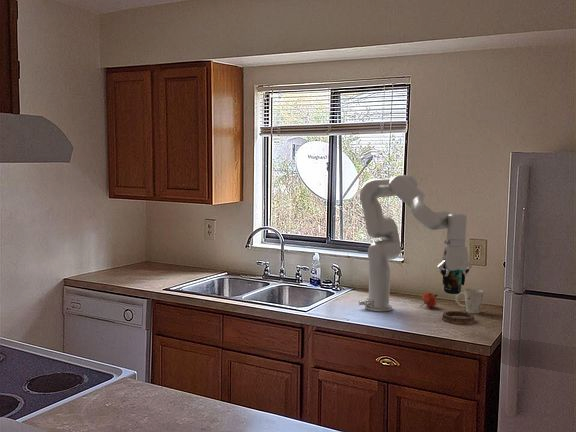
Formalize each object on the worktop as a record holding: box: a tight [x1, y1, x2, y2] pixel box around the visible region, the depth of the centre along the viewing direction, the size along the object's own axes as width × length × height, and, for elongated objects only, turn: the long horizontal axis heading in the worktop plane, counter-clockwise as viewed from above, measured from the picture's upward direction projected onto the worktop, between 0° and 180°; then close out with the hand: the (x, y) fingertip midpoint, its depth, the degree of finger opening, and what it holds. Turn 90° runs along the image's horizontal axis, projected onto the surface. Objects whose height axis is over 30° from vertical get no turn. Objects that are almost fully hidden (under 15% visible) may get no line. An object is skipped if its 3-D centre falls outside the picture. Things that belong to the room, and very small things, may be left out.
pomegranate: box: [419, 292, 439, 309], centre depth 299 cm, size 7×7×10 cm
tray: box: [441, 310, 476, 325], centre depth 277 cm, size 14×14×2 cm
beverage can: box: [443, 269, 462, 295], centre depth 267 cm, size 7×7×12 cm
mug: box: [455, 288, 484, 315], centre depth 292 cm, size 8×13×10 cm, turn 58°
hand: (453, 284), depth 267 cm, fingers closed on beverage can, 7 cm apart
